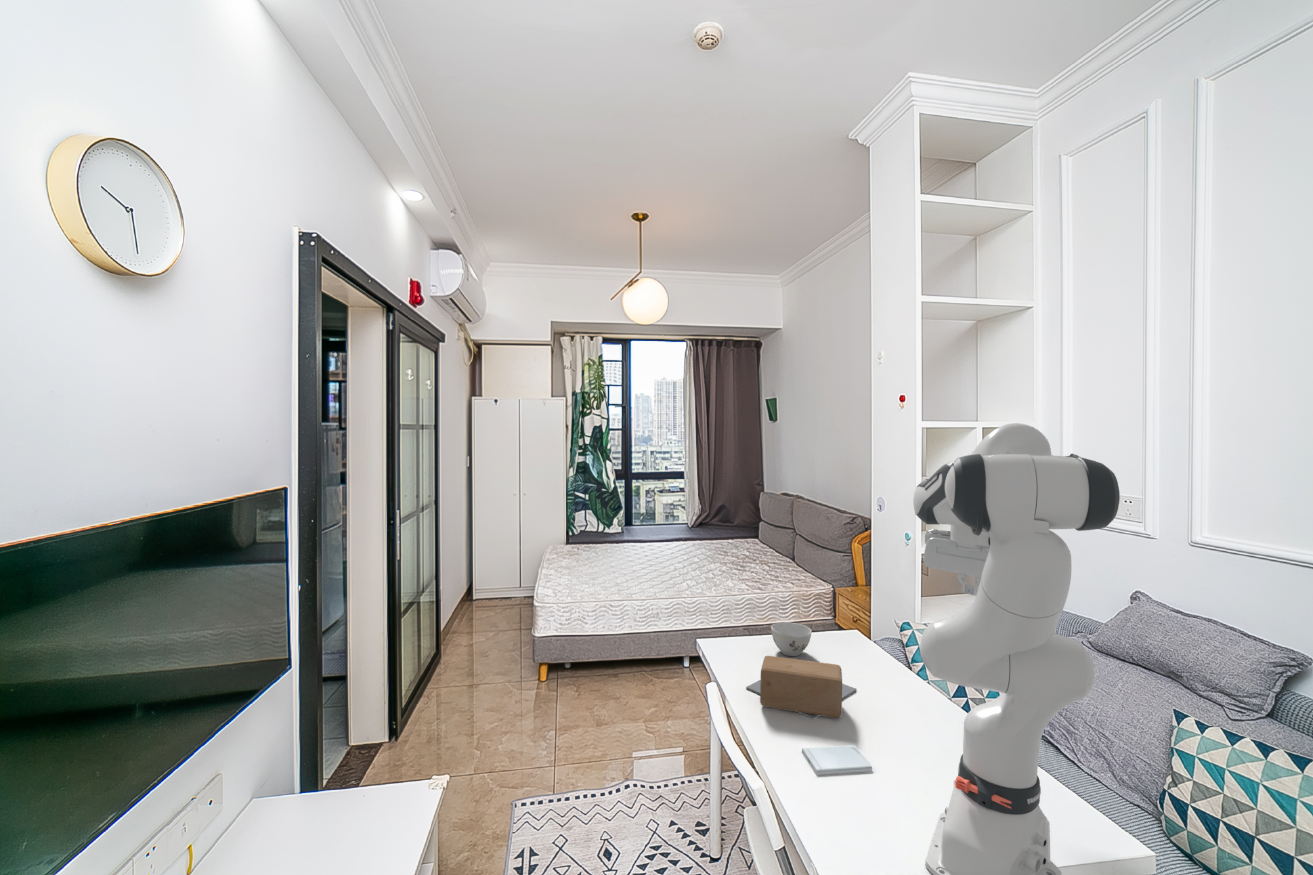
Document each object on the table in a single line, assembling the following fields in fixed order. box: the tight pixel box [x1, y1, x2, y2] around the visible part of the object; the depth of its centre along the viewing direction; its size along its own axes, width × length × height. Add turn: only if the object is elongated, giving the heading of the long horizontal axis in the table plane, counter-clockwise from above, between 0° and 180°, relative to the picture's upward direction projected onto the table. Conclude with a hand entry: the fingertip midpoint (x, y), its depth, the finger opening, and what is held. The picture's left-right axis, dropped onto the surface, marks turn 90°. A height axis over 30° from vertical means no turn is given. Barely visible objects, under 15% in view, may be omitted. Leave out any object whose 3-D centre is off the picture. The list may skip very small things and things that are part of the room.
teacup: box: [770, 621, 812, 657], centre depth 181 cm, size 15×12×8 cm
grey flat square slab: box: [745, 679, 858, 719], centre depth 156 cm, size 22×21×1 cm
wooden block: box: [759, 655, 843, 719], centre depth 146 cm, size 10×10×20 cm
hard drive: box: [801, 744, 873, 776], centre depth 123 cm, size 2×8×12 cm
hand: (970, 593), depth 130 cm, fingers closed
